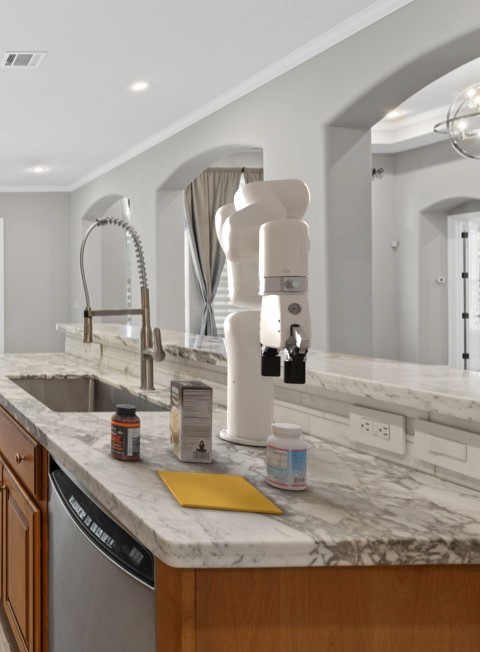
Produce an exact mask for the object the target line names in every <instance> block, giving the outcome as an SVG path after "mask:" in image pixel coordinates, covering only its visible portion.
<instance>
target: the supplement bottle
mask: <svg viewBox="0 0 480 652" xmlns="http://www.w3.org/2000/svg"><path fill="white" fill-rule="evenodd" d="M136 413H137V408H136V406H135V405H133V404H127V403H121V404H120V403H119V404H116V405H115V413H114V414H113V415H112V416H111V418H110V419H111V420H110V456H111V457H113V458H114V459H117V460H119V461H126V462H127V461H130V462H134V461H137V460H139V459H140V457H141V419H140V417H139V416H138V415H137V414H136Z"/></svg>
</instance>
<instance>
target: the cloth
mask: <svg viewBox="0 0 480 652" xmlns="http://www.w3.org/2000/svg"><path fill="white" fill-rule="evenodd" d="M156 473H157V474H158V476H159V477H160V478H161V480H162V481H163V482H164V484H165V485H166V487H167V488H168V489H169V490H170V492H171V493H172V495H173V496H174V497H175V499H176V500H177V502H178V503H179V505H180V506H181V507H189V508H200V509H201V508H202V509H213V510H226V511H227V510H228V511H238V512H248V513H249V512H251V513H262V514H276V515H277V514H278V515H284V511H282V509H280V508H279V507H278V506H277V505H276V504H275V503H274V502H272V501H271V500H270V499H268V498H267V497H266V496H265V495H264V494H263V493H261V492H260V491H259V490H258V489H257V488H255V487H254V486H253V485H252V484H251V483H250V482H249V481H248V480H246V479H245V478H244V477H243V476H241V475H234V474H219V473H203V472H191V471H175V470H173V471H172V470H162V469H161V470H159V469H157V470H156Z"/></svg>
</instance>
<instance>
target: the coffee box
mask: <svg viewBox="0 0 480 652" xmlns="http://www.w3.org/2000/svg"><path fill="white" fill-rule="evenodd" d="M169 386H170V388H169V389H170V391H169V392H170V394H169V395H170V396H169V400H170V401H169V450H170V451H171V452H172V453H173V454H174V456H175V457H177V459H178V460H179V461H180V462H185V463H205V464H207V463H208V464H212V461H213V460H212V458H213V457H212V456H213V455H212V454H213V408H214V407H213V405H214V404H213V403H214V402H213V401H214V399H213V397H214V393H213V392H214V388H213V387H211V386H210V385H207V384H205V382H202V381H200V380H170V385H169Z"/></svg>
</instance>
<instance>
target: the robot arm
mask: <svg viewBox="0 0 480 652" xmlns="http://www.w3.org/2000/svg"><path fill="white" fill-rule="evenodd" d="M310 203H311V191H310V189H309V187H308V184H306V182H304V181H303V180H301V179H298V178H286V179H272V180H259V181H252V182H248V183H246V184H244V185H242V186H241V187H239V188H238V189H237V190H236V192H235V194H234V197H233V202H230V203H227V204H224V205H222V206H221V207H219V208H218V209H217V211H216V214H215V219H214V224H215V225H214V226H215V233H216V237H217V240H218V242H219V245H220V247H221V249H222V251H223V253H224V255H225V260H226V267H227V269H226V270H227V287H228V297H229V300H230V302H231V304H232V305H233V306H235V307H237V308H240V309H247V310H236V311H234V312H231V313H230V314H228V315H227V316H226V317H225V318H224V321H223V335H224V339H225V346H226V357H227V359H226V360H227V385H226V386H227V388H226V390H227V393H226V395H227V397H226V399H227V401H226V429H222V430H220V431H219V437H220V438H221V439H222V440H225V441H227V442H230V443H234V444H238V445H239V444H240V445H244V446H253V447H254V446H255V447H267V439H268V437H269V436H271V435H273V433H272V432H271V424H273V423H274V406H275V405H274V402H275V401H274V399H275V398H274V396H275V395H274V394H275V383H274V382H275V378H280V377H281V373H282V372H281V371H282V357H281V355H279V354H280V352H283V354H284V358H285V360H283V384H287V385H288V384H289V385H305V384H306V382H307V381H306V373H307V372H306V371H307V367H306V366H307V360H308V357H307V354H308V352H309V349H310V348H312V339H313V333H312V332H313V330H312V320H311V312H310V311H311V310H310V304H309V252H310V251H311V235H310V233H309V229H310V228H309V225H308V224H307V222H305V220H302V219H303V218H304V216H306V213H307V212H308V210H309V207H310ZM253 309H254V310H253Z"/></svg>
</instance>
